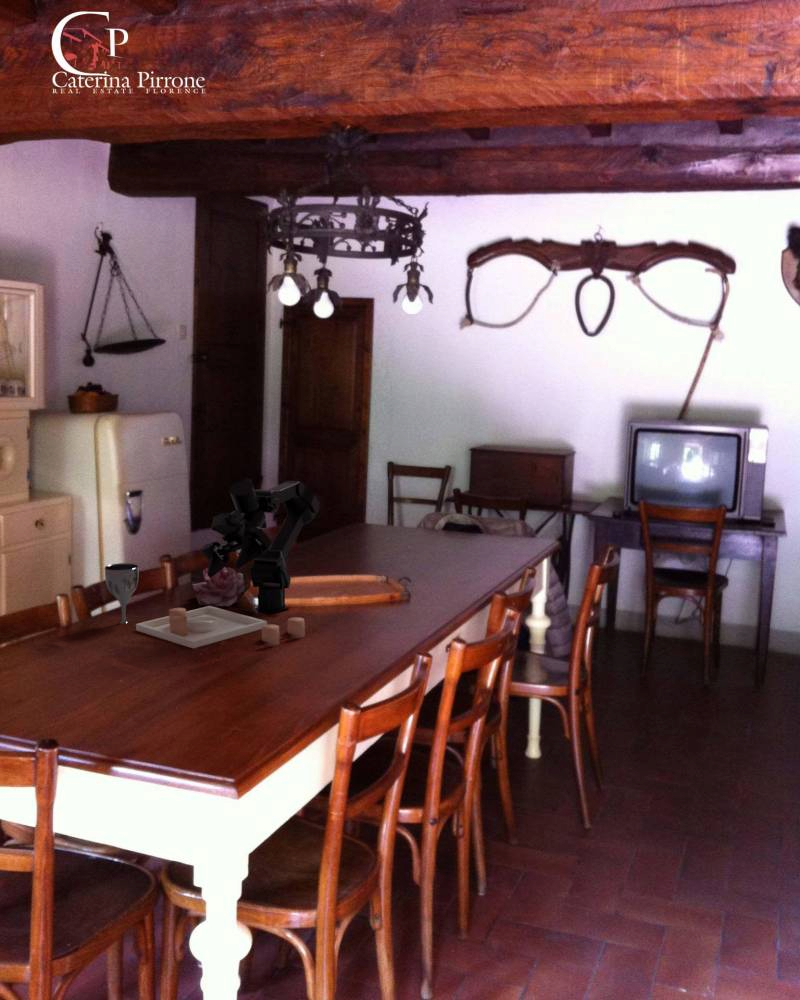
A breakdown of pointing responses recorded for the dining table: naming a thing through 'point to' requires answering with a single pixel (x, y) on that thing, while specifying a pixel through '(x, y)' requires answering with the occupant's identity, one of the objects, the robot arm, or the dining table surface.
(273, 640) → the pale tan cube
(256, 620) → the groove dish
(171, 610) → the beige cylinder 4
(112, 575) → the wine glass
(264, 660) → the dining table surface
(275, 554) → the robot arm
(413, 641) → the dining table surface
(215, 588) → the flower
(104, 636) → the dining table surface
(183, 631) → the seated bead
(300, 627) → the beige cube
